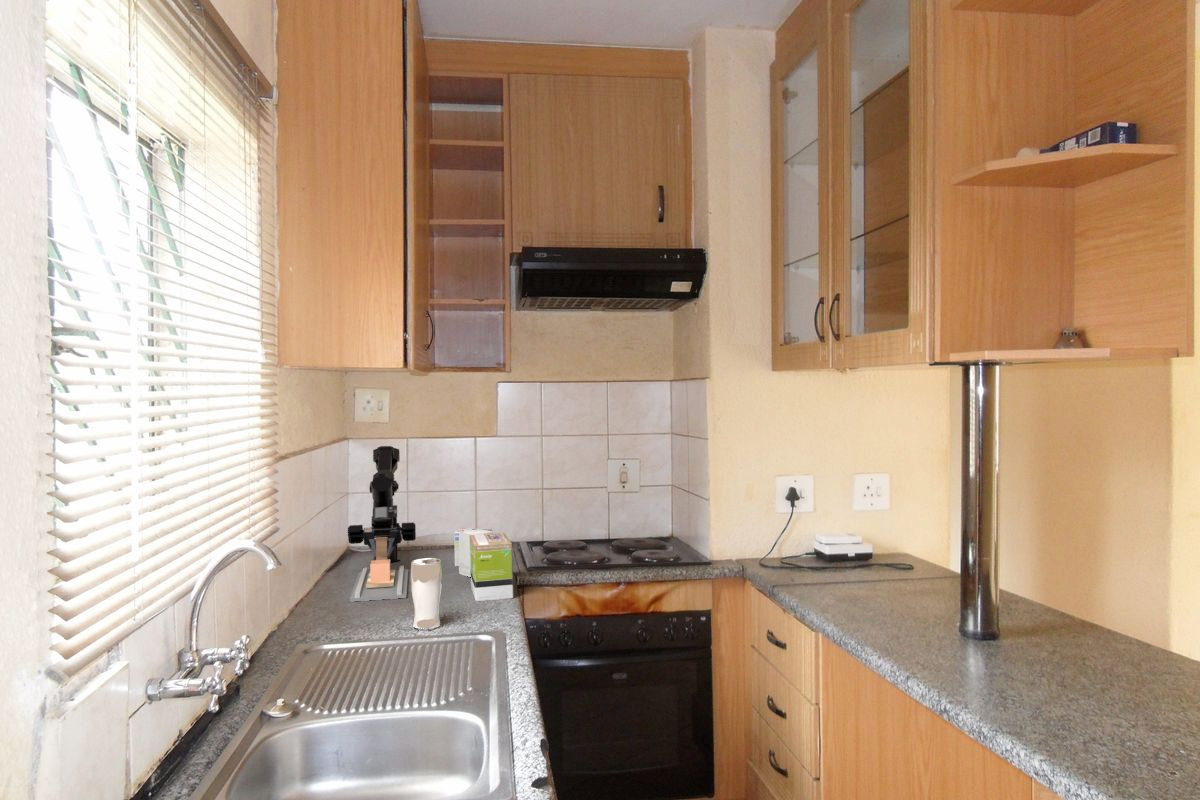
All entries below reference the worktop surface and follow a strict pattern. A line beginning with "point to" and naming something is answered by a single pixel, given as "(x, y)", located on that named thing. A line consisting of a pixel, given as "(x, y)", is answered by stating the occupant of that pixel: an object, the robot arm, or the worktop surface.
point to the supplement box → (467, 549)
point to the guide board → (380, 592)
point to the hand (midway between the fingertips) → (381, 557)
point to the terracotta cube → (380, 571)
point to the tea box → (491, 567)
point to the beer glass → (426, 591)
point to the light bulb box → (456, 544)
